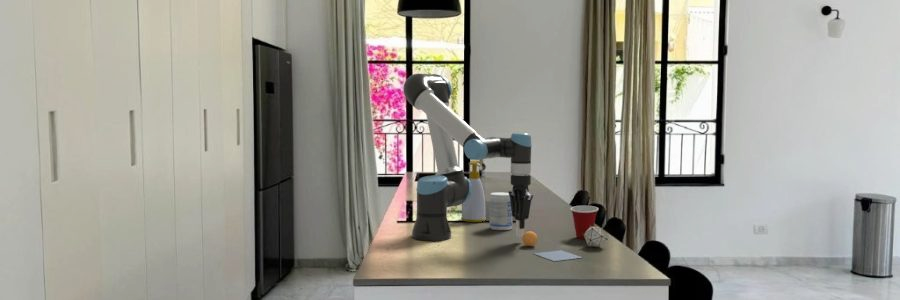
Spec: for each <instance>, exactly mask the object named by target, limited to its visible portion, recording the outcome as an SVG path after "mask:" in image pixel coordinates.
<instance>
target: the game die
mask: <svg viewBox="0 0 900 300" xmlns="http://www.w3.org/2000/svg"><path fill="white" fill-rule="evenodd" d="M589 226H590V228H589V229H588V230H587V231H586V232H585V233H584V234H583V233H582V235H584V237H585V239H584V240H585V242H586V246H585V247H586V248H587V247H588V246H590V247H596V248H598V249H599V248H600V249H601V247H600V246H601V245H602V244H603V243H604V241H605V240H607V241H608V240H609V239H608V238H606V236H605V233H604V229H603V228H604V225H602V226H601V227H598V226H594V227H591V225H589Z"/></svg>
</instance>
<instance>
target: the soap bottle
mask: <svg viewBox="0 0 900 300" xmlns="http://www.w3.org/2000/svg"><path fill="white" fill-rule="evenodd" d="M478 164H480V165H482V164H483V162H482V161H481V160H472V161H470V162H469V163H468V165H471V168H472V169H471V171H469V178H468V179H469V180H470V182H471V185H472V193H471V196H470V198H469V199H468V201H466V202H465V203H463V204H461V205H462V206H461V217H460V220H461V221H463V222H465V221H466V222H467V223H483V222H486V221H487V218H486V199H485V198H486V197H485V192H484V187H483V183H482V181H481V178H480V171H479V170H478V169H477V168H478ZM485 220H486V221H485ZM482 221H483V222H482Z"/></svg>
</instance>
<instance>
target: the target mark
mask: <svg viewBox="0 0 900 300" xmlns="http://www.w3.org/2000/svg"><path fill="white" fill-rule="evenodd" d="M532 254H533V255H535V256H537V257H541V258H543V259H546V260H548V261H551V262H563V261H569V260H570V259H571V260H577V258H579V259H583V257H582V256H579V255H576V254H573V253H571V252H567V251H564V250H552V251H543V252H534V253H532Z"/></svg>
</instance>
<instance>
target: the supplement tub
mask: <svg viewBox="0 0 900 300" xmlns="http://www.w3.org/2000/svg"><path fill="white" fill-rule="evenodd" d="M489 228H490V229H491V230H494V231H509V230H510V231H511V229H513V216H512V211H511V202H510V196H509V192H503V191H502V192H499V191H498V192H497V191H495V192H491V193H490V196H489Z"/></svg>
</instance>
